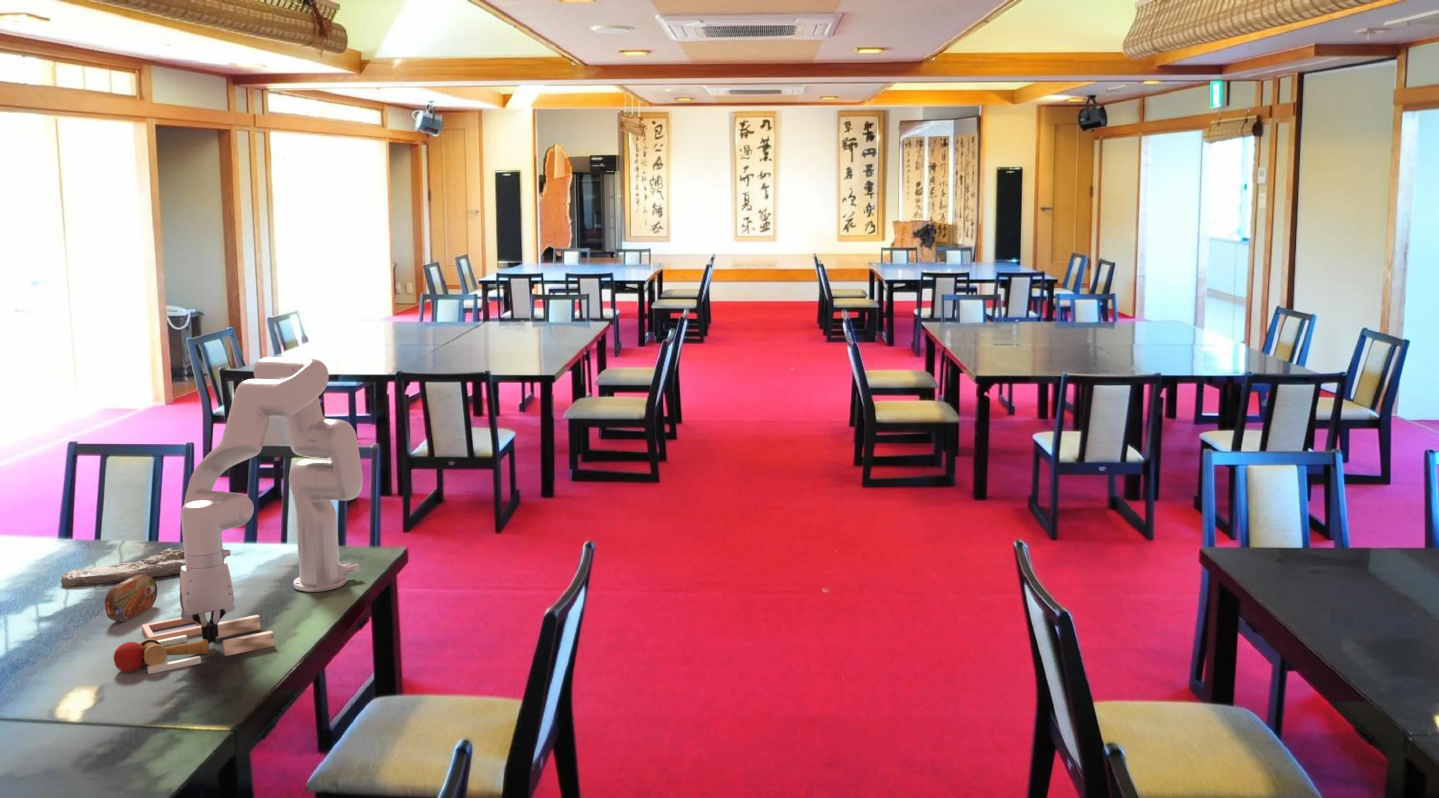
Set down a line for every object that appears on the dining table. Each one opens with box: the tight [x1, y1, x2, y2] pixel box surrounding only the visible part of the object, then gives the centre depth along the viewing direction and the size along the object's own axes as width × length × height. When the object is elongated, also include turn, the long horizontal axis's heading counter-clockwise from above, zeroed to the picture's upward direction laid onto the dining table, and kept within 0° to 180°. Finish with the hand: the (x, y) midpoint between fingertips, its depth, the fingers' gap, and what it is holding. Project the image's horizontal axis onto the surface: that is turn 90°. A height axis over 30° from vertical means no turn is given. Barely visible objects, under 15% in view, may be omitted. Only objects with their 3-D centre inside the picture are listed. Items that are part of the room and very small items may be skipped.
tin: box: [104, 575, 158, 623], centre depth 276 cm, size 15×3×8 cm, turn 168°
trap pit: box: [141, 617, 202, 640], centre depth 266 cm, size 12×9×2 cm
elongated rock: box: [60, 547, 185, 588], centre depth 304 cm, size 35×5×10 cm
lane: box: [216, 614, 275, 657], centre depth 261 cm, size 10×13×3 cm
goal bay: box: [146, 635, 202, 675], centre depth 253 cm, size 10×15×1 cm, turn 34°
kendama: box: [113, 638, 210, 673], centre depth 249 cm, size 8×6×18 cm
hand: (210, 640), depth 257 cm, fingers closed
